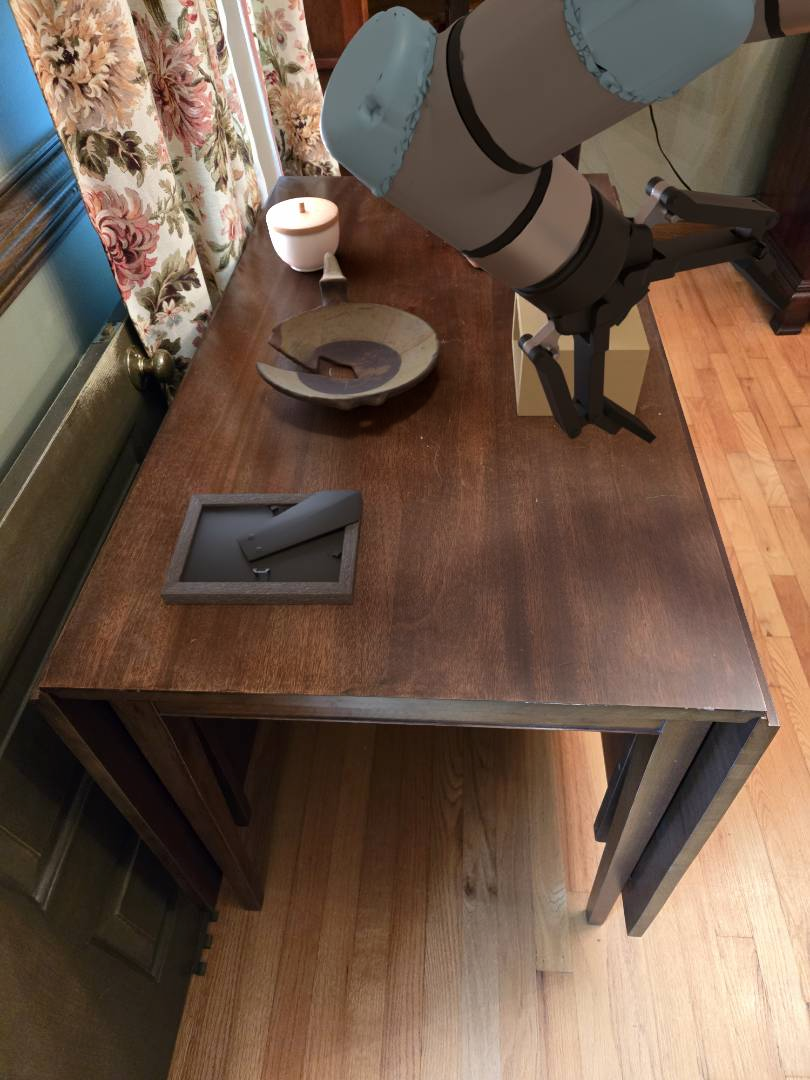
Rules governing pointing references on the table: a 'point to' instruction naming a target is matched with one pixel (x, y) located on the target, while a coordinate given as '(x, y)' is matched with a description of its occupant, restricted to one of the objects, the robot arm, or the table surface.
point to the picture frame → (267, 549)
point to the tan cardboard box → (620, 361)
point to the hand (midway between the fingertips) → (706, 368)
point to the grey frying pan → (351, 348)
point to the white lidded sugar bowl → (304, 231)
